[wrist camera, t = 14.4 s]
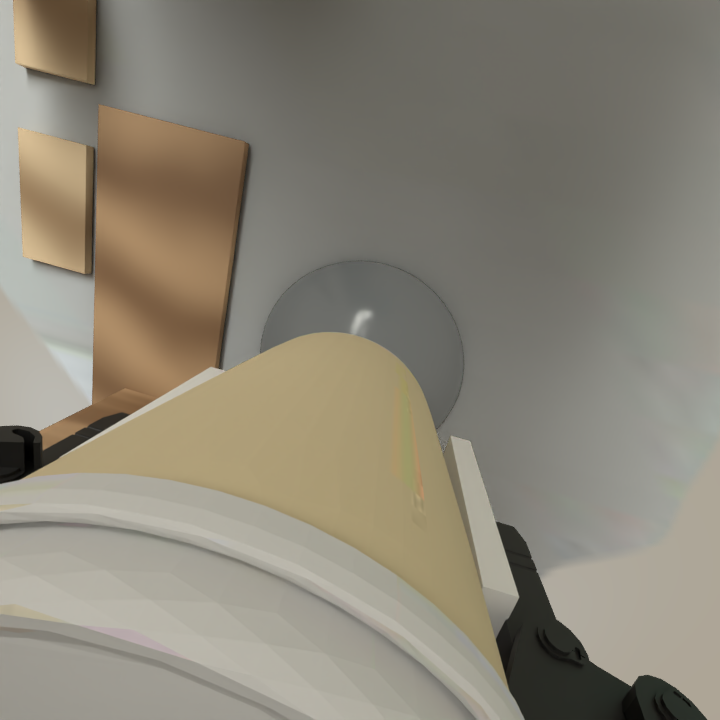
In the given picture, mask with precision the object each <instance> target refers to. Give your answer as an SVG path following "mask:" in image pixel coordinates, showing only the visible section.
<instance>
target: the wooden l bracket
mask: <svg viewBox="0 0 720 720" xmlns="http://www.w3.org/2000/svg"><path fill="white" fill-rule="evenodd" d="M248 148H249V144H248V143H246V142H244V141H240V140H236V139H233V138H229V137H225V136H221V135H217V134H213V133H209V132H205V131H201V130H197V129H194V128H190V127H186V126H182V125H178V124H174V123H170V122H166V121H162V120H158V119H154V118H151V117H147V116H143V115H139V114H135V113H131V112H127V111H123V110H119V109H115V108H111V107H108V106H104V105H100V104H99V111H98V158H97V204H96V250H95V297H94V343H93V390H92V405H91V406H89V407H87V408H85V409H83V410H81V411H79V412H77V413H75V414H73V415H71V416H69V417H67V418H65V419H63V420H61V421H59V422H57V423H55V424H53V425H51V426H49V427H47V428H45V429H43V430H41V431H39V432H40V434H41V435H42V440H43V450H45V449H47V448H48V447H50V446H52V445H54V444H56V443H57V442H59V441H61V440H63V439H65V438H66V437H68V436H70V435H72V434H73V435H75V433H76V432H77V431H79V430H81V429H83V428H85V427H86V428H87V427H88V425H90V424H92V423H94V422H95V421H97V420H99V419H101V418H103V417H106V416H110V415H113V414H117V413H121V412H123V413H127V414H130V415H131V414H133V413H134V412H136V411H138V410H139V409H141V408H143V407H144V406H146V405H148V404H149V403H151V402H153V401H154V400H156V399H158V398H159V397H161V396H163V395H164V394H166V393H168V392H169V391H171V390H173V389H174V388H176V387H178V386H179V385H181V384H183V383H185V382H186V381H188V380H190V379H191V378H193V377H195V376H196V375H198V374H200V373H201V372H203V371H205V370H206V369H208V368H210V367H213V368H217V369H218V368H219V361H220V353H221V346H222V339H223V331H224V324H225V317H226V309H227V302H228V295H229V287H230V280H231V273H232V265H233V258H234V251H235V243H236V236H237V229H238V221H239V214H240V207H241V199H242V192H243V185H244V177H245V170H246V163H247V156H248Z"/></svg>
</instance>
